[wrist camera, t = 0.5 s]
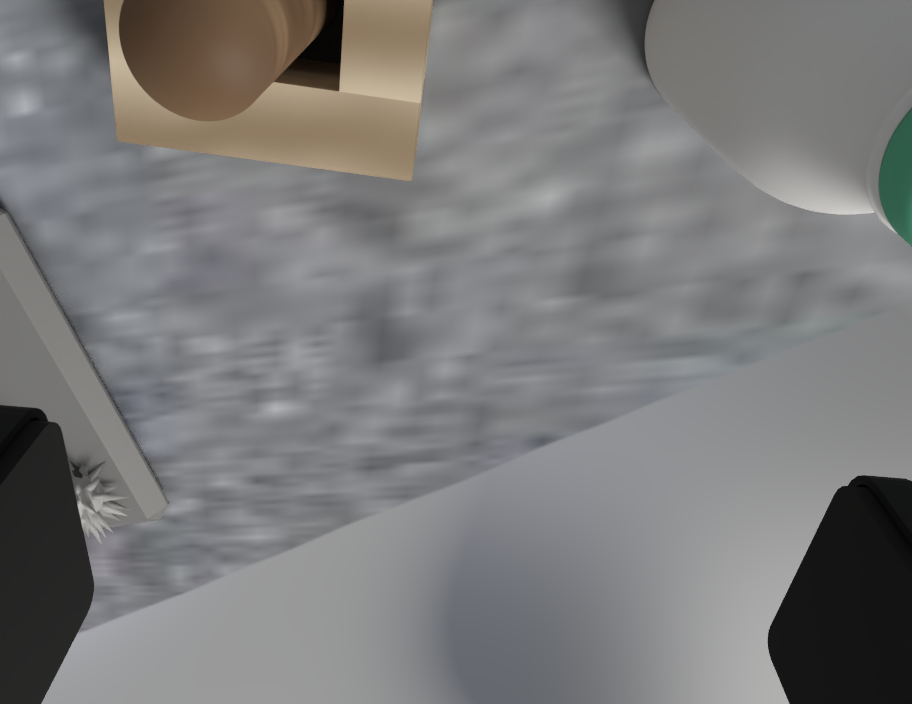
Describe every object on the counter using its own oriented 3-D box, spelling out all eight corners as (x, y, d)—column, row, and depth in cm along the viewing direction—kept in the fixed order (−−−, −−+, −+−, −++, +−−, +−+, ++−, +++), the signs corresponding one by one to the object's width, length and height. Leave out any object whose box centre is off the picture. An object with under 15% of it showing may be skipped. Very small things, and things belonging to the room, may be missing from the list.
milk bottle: (625, 113, 35) (789, 327, 18) (661, -79, 31) (918, -41, 14) (789, 124, 35) (1104, 347, 18) (846, -64, 31) (1324, -8, 14)
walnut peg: (245, -73, 31) (111, -50, 19) (342, -58, 31) (271, -26, 19) (246, 30, 33) (125, 110, 21) (337, 44, 33) (270, 130, 21)
